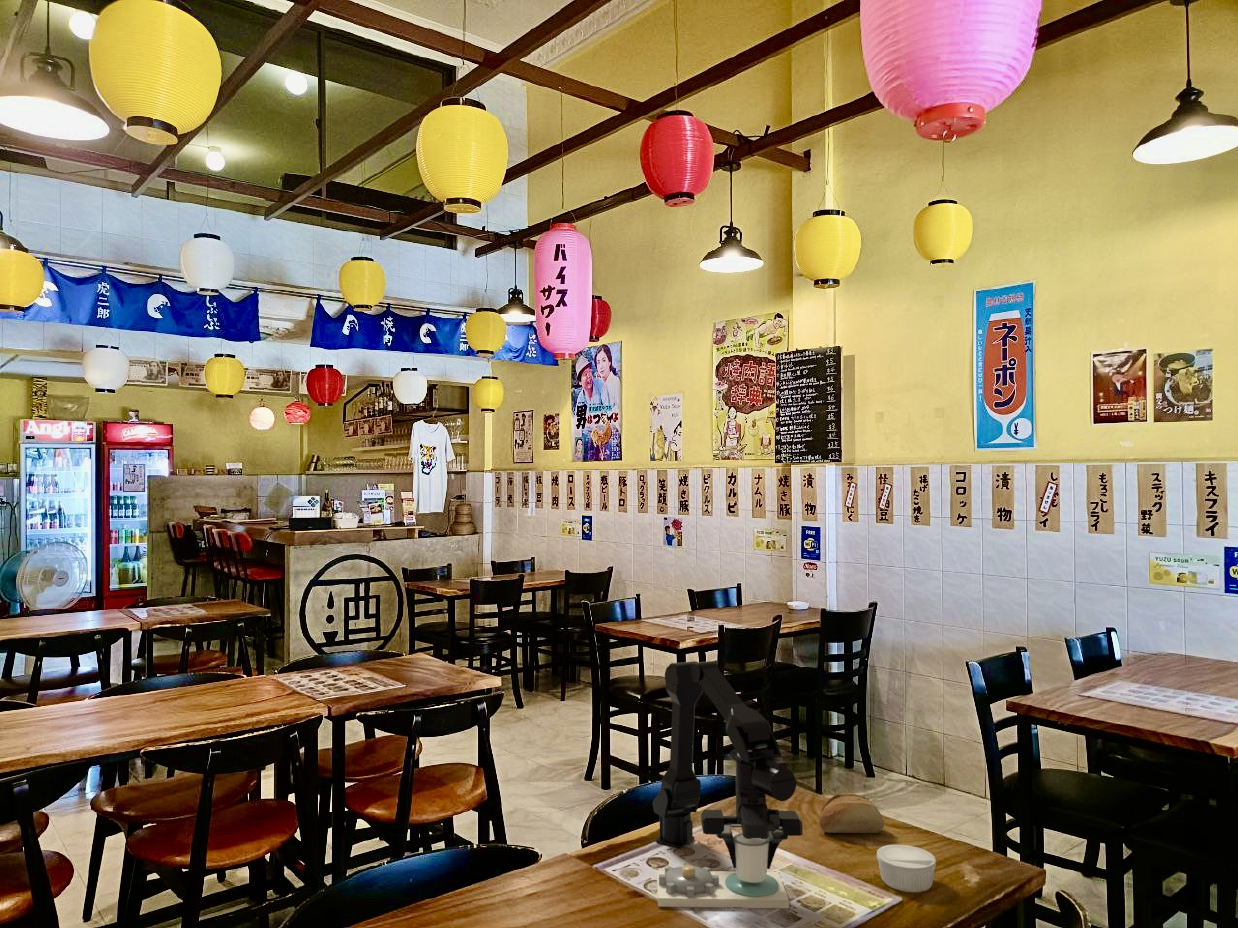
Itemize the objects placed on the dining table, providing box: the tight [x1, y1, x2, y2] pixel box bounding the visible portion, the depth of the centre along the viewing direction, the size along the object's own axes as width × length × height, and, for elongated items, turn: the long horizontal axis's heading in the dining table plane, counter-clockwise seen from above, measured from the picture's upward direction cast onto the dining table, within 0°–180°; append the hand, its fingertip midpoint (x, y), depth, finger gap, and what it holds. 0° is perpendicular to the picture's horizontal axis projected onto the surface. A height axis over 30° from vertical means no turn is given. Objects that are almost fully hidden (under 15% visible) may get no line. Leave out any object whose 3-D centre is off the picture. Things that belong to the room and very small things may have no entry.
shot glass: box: [733, 832, 769, 883], centre depth 159 cm, size 7×7×7 cm
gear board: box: [656, 863, 790, 909], centre depth 159 cm, size 24×12×4 cm, turn 89°
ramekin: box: [876, 844, 937, 893], centre depth 164 cm, size 11×11×5 cm
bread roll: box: [819, 793, 885, 834], centre depth 190 cm, size 10×15×8 cm, turn 98°
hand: (751, 867), depth 159 cm, fingers closed on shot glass, 6 cm apart
